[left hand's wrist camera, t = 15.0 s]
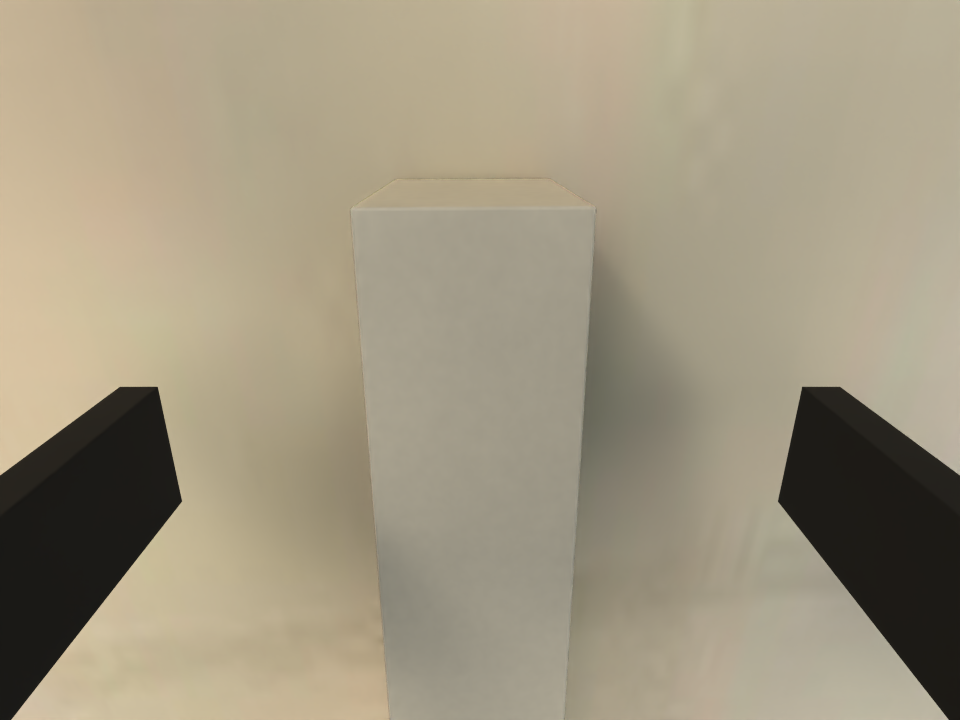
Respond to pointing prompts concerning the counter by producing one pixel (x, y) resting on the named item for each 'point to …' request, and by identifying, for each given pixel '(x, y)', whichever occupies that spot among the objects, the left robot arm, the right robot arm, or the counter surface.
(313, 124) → the counter surface
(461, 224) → the post
